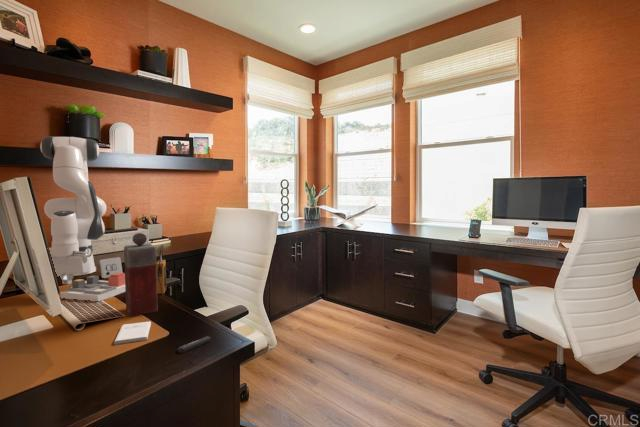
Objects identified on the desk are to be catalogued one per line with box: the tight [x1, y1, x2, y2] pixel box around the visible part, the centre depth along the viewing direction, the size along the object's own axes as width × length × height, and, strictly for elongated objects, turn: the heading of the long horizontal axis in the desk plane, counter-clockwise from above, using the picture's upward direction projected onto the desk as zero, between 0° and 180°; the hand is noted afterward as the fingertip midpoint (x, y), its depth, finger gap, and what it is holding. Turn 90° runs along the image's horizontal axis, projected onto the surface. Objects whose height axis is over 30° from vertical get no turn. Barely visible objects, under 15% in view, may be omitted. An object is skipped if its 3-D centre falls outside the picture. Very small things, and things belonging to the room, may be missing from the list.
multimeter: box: [156, 245, 167, 298], centre depth 140 cm, size 15×10×20 cm
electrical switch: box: [98, 256, 124, 279], centre depth 167 cm, size 9×5×9 cm, turn 141°
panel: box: [59, 279, 126, 302], centre depth 139 cm, size 18×18×4 cm
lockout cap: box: [107, 272, 125, 287], centre depth 143 cm, size 5×5×5 cm
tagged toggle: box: [71, 278, 86, 289], centre depth 136 cm, size 3×3×4 cm
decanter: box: [123, 232, 159, 317], centre depth 120 cm, size 9×11×28 cm
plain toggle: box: [85, 275, 100, 284], centre depth 143 cm, size 3×3×4 cm
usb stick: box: [177, 335, 212, 354], centre depth 93 cm, size 10×3×2 cm, turn 144°
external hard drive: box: [113, 321, 152, 345], centre depth 100 cm, size 2×8×12 cm
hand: (67, 283), depth 137 cm, fingers closed
